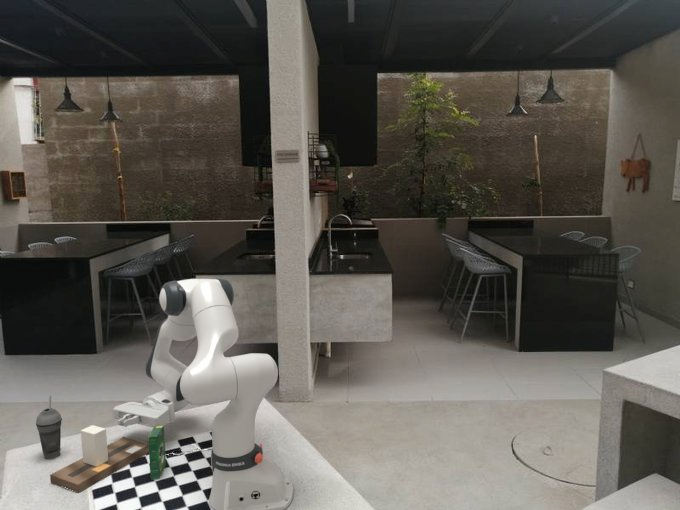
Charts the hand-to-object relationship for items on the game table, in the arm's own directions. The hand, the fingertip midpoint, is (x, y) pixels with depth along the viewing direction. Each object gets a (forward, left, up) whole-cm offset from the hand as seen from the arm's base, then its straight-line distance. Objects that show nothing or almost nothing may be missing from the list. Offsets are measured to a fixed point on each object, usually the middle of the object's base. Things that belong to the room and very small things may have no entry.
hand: (121, 423), depth 167 cm
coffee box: (-14, +11, -11) cm, 21 cm away
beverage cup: (+23, -2, -11) cm, 25 cm away
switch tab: (+5, +8, -8) cm, 13 cm away
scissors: (-24, -2, -11) cm, 27 cm away
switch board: (+4, +6, -11) cm, 13 cm away
